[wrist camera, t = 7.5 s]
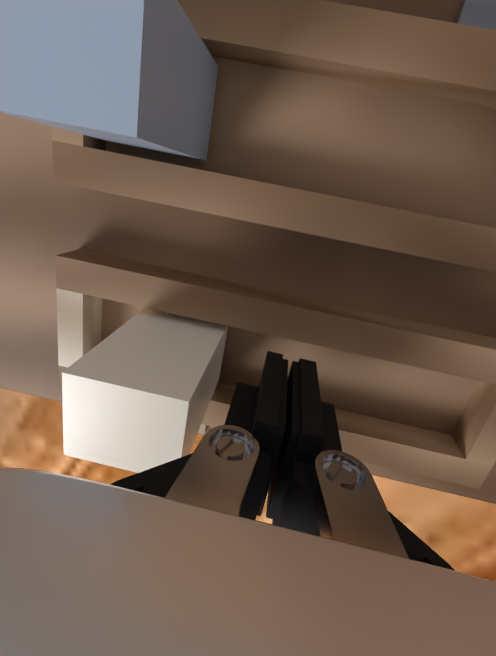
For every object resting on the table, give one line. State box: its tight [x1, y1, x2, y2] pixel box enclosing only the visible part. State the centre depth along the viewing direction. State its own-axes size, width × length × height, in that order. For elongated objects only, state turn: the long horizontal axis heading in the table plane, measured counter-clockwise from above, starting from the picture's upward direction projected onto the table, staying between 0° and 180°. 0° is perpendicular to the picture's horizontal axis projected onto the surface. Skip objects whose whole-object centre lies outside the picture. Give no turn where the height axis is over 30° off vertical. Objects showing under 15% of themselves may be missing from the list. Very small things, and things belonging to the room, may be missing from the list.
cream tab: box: [62, 308, 228, 473], centre depth 12 cm, size 3×3×6 cm
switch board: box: [0, 0, 496, 504], centre depth 13 cm, size 17×28×3 cm, turn 80°
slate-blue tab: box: [0, 0, 218, 161], centre depth 9 cm, size 3×3×6 cm
